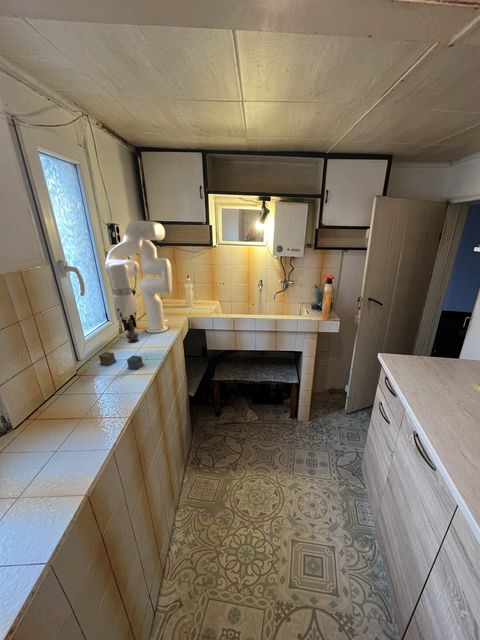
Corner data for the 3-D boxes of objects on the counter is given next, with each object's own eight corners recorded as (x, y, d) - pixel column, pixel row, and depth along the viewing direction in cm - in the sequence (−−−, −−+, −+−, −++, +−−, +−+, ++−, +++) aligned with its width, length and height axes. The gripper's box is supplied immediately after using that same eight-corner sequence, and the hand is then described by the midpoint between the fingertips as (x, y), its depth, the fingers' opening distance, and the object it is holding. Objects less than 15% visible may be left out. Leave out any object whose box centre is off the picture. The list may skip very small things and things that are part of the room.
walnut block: (107, 360, 136) (105, 351, 134) (115, 361, 135) (113, 352, 133) (100, 364, 132) (98, 355, 130) (109, 365, 131) (106, 356, 129)
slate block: (134, 363, 133) (133, 355, 131) (143, 365, 132) (141, 356, 130) (128, 368, 129) (126, 359, 127) (137, 369, 128) (135, 360, 126)
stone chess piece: (135, 344, 135) (130, 320, 130) (124, 343, 136) (118, 319, 131) (142, 339, 140) (137, 316, 135) (131, 338, 141) (126, 315, 136)
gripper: (127, 286, 135) (134, 322, 143) (102, 295, 120) (111, 334, 129) (141, 287, 133) (147, 323, 142) (117, 296, 119) (126, 336, 127)
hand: (130, 328), depth 135 cm, fingers closed on stone chess piece, 3 cm apart
